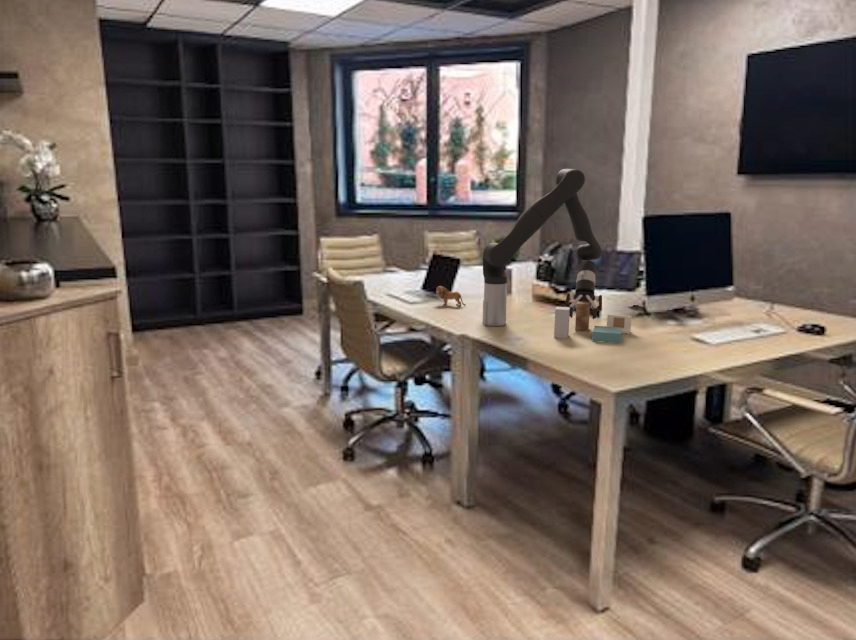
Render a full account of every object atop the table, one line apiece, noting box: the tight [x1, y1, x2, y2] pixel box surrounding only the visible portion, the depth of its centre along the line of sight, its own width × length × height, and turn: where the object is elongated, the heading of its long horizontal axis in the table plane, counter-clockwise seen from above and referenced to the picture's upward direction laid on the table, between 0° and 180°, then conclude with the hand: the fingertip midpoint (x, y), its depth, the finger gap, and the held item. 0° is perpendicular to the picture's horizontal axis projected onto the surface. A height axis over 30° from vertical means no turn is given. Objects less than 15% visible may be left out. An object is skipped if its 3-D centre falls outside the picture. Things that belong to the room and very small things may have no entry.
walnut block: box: [574, 301, 591, 332], centre depth 255 cm, size 5×5×11 cm
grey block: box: [553, 306, 570, 339], centre depth 244 cm, size 5×5×11 cm
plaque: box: [606, 314, 632, 335], centre depth 252 cm, size 9×4×7 cm, turn 74°
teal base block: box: [591, 325, 623, 344], centre depth 241 cm, size 10×10×4 cm
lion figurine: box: [435, 285, 467, 308], centre depth 302 cm, size 15×5×9 cm, turn 70°
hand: (582, 317), depth 254 cm, fingers open, 8 cm apart
